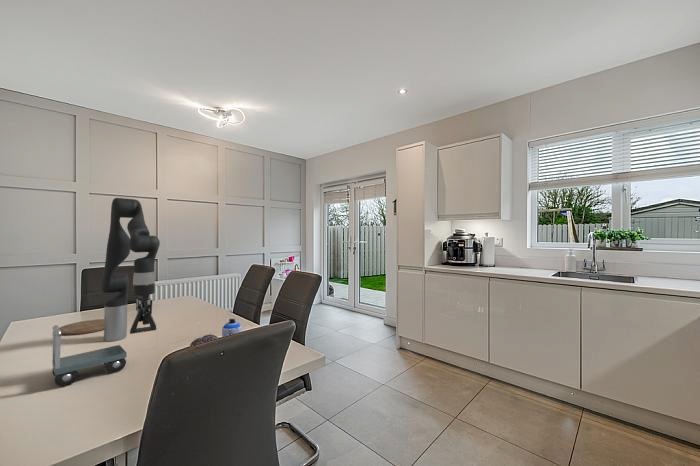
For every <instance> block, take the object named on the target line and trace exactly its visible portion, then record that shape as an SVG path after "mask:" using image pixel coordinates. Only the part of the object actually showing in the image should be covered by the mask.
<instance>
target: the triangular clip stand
mask: <svg viewBox="0 0 700 466" xmlns="http://www.w3.org/2000/svg"><path fill="white" fill-rule="evenodd" d="M141 304H143V303H141ZM141 304H140V305H141ZM140 305H139V308H140ZM146 312H148V309H147V310H146ZM136 313H137V312H136ZM141 313H142V311H141V308H140V309H139V311H138V313H137V314H136V315H135V318H134V320H133V322H132V325H131V327H130V330H129V334H130V335H133V334H139V333H143V332H152V331H156V330H157V324H156V322H155V319H154V317H153V315H152V314H150V315H149V324H148V325H149V326H144V327H138V325H139V319H140V316H141Z"/></svg>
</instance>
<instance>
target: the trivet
mask: <svg viewBox="0 0 700 466" xmlns="http://www.w3.org/2000/svg"><path fill="white" fill-rule="evenodd" d="M59 329H60V331H61V333H62V334H61V337H62V336H64V337H65V336H66V337H67V336H68V337H70V336H72V337H73V336H81V335H82V336H83V335H89V334H93V333H94V334H95V333H99V332H102V331H103V332H104V318H103V319H102V318H100V319H99V318H98V319H89V320H84V321H83V320H82V321H77V322H72V323H69V324H65V325H62V326H60V327H59Z"/></svg>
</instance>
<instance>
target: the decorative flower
mask: <svg viewBox="0 0 700 466" xmlns="http://www.w3.org/2000/svg"><path fill="white" fill-rule="evenodd" d="M216 338H218V339H219V337H218V336H216V335H214V334H205V335H202V336H201V337H197V338H195V339H194V340H192V342H191V343H190V344H189V346H192V345H196V344H199V343H202V342H206V341H209V340H212V339H216Z"/></svg>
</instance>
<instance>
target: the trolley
mask: <svg viewBox="0 0 700 466" xmlns="http://www.w3.org/2000/svg"><path fill="white" fill-rule="evenodd" d="M59 328H60V327H59V325H55V324H54V325H53V326H52V360H51V361H52V363H51V366H52V370H51V372H52V375H53V377H54V384H55V385H56V386H58V387H61V388H62V387H63V388H64V387H68V386H70V385H73V384H74V383H75V382H76V381H77V379H78V378H79V372H78V370H79V371H80V370H82V369H87V368H90V367H93V366H94V367H95V366H99V365H102V364H103V365H104V366H105V369H106V370H107V371H108V372H109V373H112V374H114V373H118V372H121V371H122V370H124V368H125V367H126V364H127V361H126V359H127V351H125V349H124V348H123V347H122V346H121V344H118V345H113V346H109V347H104V348H100V349H95V350H91V351H90V350H89V351H86V352H81V353H76V354H72V355H67V356H63V357H61V342H62V341H61V338H62V335H61V334H62V333H61V331H60V329H59Z"/></svg>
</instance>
